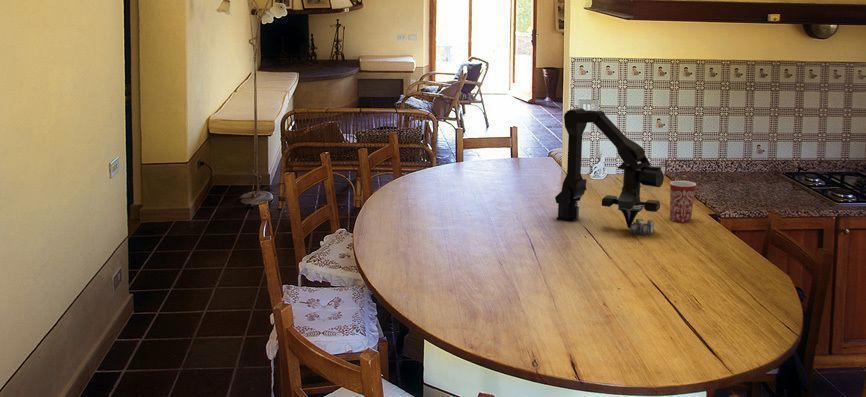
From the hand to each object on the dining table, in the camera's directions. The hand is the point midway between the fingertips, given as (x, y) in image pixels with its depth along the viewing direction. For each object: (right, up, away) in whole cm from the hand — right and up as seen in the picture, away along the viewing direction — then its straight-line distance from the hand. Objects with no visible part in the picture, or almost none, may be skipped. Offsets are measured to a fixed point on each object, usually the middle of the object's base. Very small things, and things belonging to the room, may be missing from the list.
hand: (629, 227), depth 300 cm
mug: (+22, +3, +16) cm, 27 cm away
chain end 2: (+6, -2, -3) cm, 6 cm away
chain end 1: (+2, -1, -1) cm, 3 cm away
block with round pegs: (+4, -1, -2) cm, 5 cm away
